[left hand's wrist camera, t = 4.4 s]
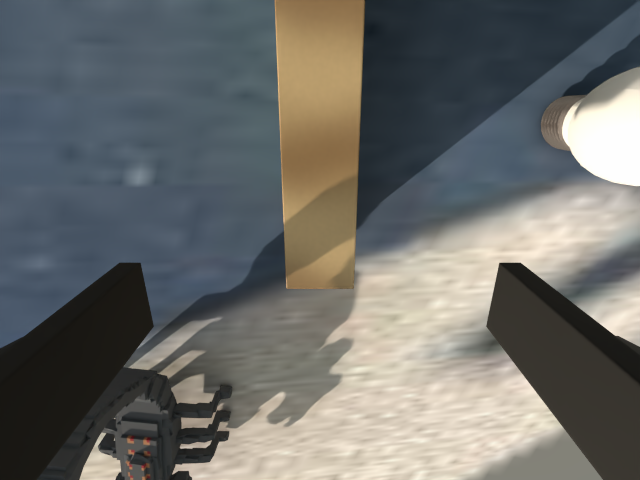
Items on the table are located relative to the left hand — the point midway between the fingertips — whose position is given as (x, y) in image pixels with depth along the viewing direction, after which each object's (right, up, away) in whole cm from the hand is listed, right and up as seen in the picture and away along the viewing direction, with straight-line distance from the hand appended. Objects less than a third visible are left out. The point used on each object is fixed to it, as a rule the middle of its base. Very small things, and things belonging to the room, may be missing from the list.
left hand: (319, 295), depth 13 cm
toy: (-17, -17, +24) cm, 34 cm away
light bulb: (+19, +11, +14) cm, 26 cm away
